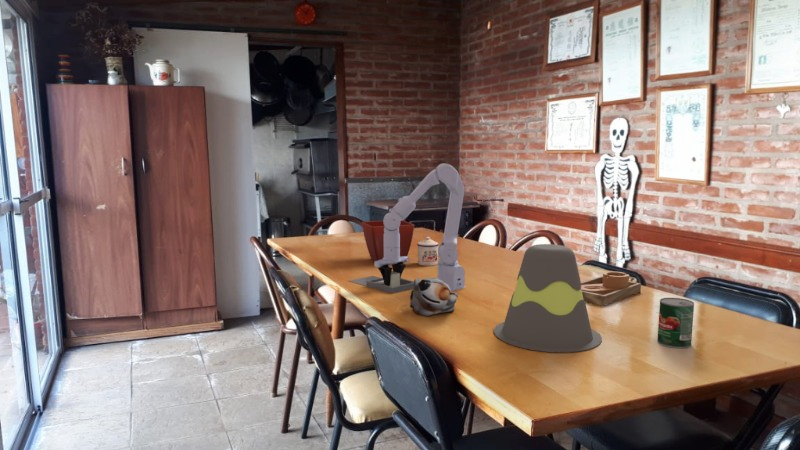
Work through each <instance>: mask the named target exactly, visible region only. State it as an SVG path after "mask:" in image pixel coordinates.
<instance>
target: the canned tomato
mask: <svg viewBox="0 0 800 450" xmlns="http://www.w3.org/2000/svg"><path fill="white" fill-rule="evenodd" d="M694 309H695V302H694V301H692V300H690V299H686V298H682V297H681V298H680V297H663V298H660V299H659V311H658V326H657V340H656V341H657V343H658V344H659V345H661V346H664V347H668V348H672V349H673V348H674V349H688V348H691V347H692V341H693V340H692V339H693V326H694V325H693V323H694V322H693V321H694Z"/></svg>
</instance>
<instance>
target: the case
mask: <svg viewBox="0 0 800 450" xmlns="http://www.w3.org/2000/svg"><path fill="white" fill-rule="evenodd" d="M366 287H368V288H371V289H376V290H378V291H382V292H386V293H389V294H396V293H401V292H404V291H405V292H406V291H410V290H413V289H414V281H413V280H410V279H406V278H402V277H401V278H400V286H396V287H390V286H386V285H384V281H383V277H379V279H374V280H369V281H366Z"/></svg>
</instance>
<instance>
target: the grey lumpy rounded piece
mask: <svg viewBox="0 0 800 450" xmlns="http://www.w3.org/2000/svg"><path fill="white" fill-rule="evenodd" d="M458 298H459V292H458V293H457V292H456V291H451V288H450V287H449V285H448V284H446V283H445V282H443V281H442V280H440V279H437V278H435V277H427V278H423V279H420V278H419V277H416V278H415V279H414V289H412V291H411V292H410V296H409V299H410V300H409V301H410V302H409V303H410V304H409V307H410V308H411V309H412V310H413V312H414V314H415V315H416V314H417V315H420V316H425V317H430V316H432V315H437V314H440V313H447V312H448V313H449V312H454V311H455V305H456V303H457V299H458Z"/></svg>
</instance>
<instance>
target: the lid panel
mask: <svg viewBox="0 0 800 450" xmlns="http://www.w3.org/2000/svg"><path fill="white" fill-rule="evenodd" d="M379 278H380V277H378V276H375V275H370V276H365V277H360V278H359V277H358V278H353V279H349V280H348V282H350V283H353V284H358V285H361V286H365V287H367V285H366V281H369V280H374V279H379Z"/></svg>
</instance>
